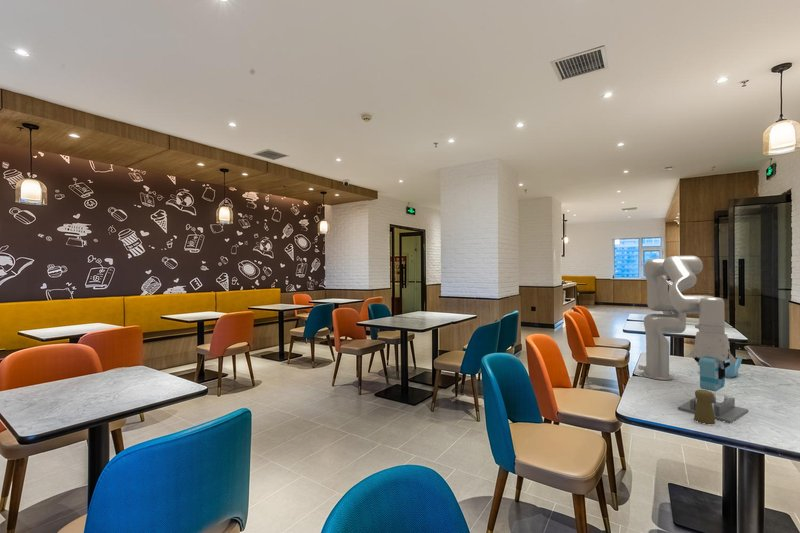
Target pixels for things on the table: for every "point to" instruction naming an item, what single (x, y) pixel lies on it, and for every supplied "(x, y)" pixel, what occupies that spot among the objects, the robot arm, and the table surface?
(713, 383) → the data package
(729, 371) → the teapot
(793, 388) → the table surface
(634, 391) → the table surface
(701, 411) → the cork
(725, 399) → the tray
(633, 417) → the table surface
